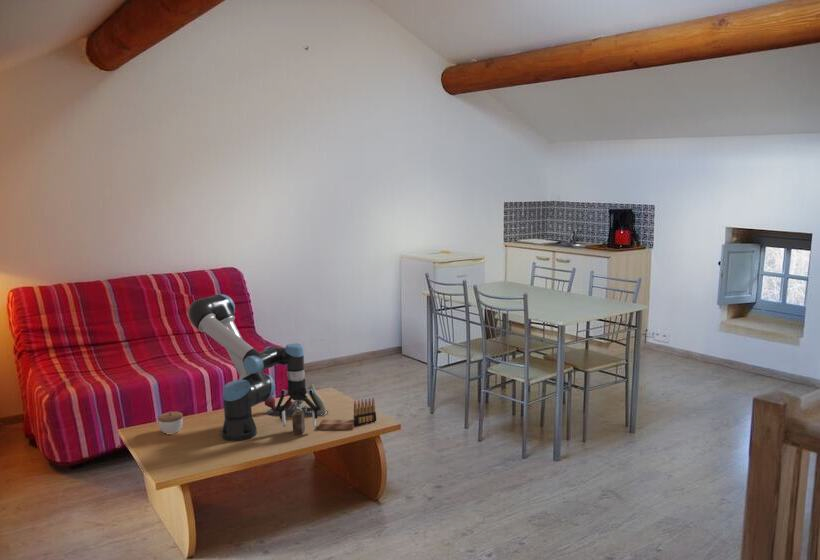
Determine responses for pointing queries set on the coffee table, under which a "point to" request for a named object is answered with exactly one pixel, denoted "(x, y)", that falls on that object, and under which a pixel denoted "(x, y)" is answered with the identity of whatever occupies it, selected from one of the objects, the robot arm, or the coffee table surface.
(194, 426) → the coffee table surface
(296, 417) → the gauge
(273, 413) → the hand plane
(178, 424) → the lidded jar
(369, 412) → the ammunition clip
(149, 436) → the coffee table surface
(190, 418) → the coffee table surface
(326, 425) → the board
